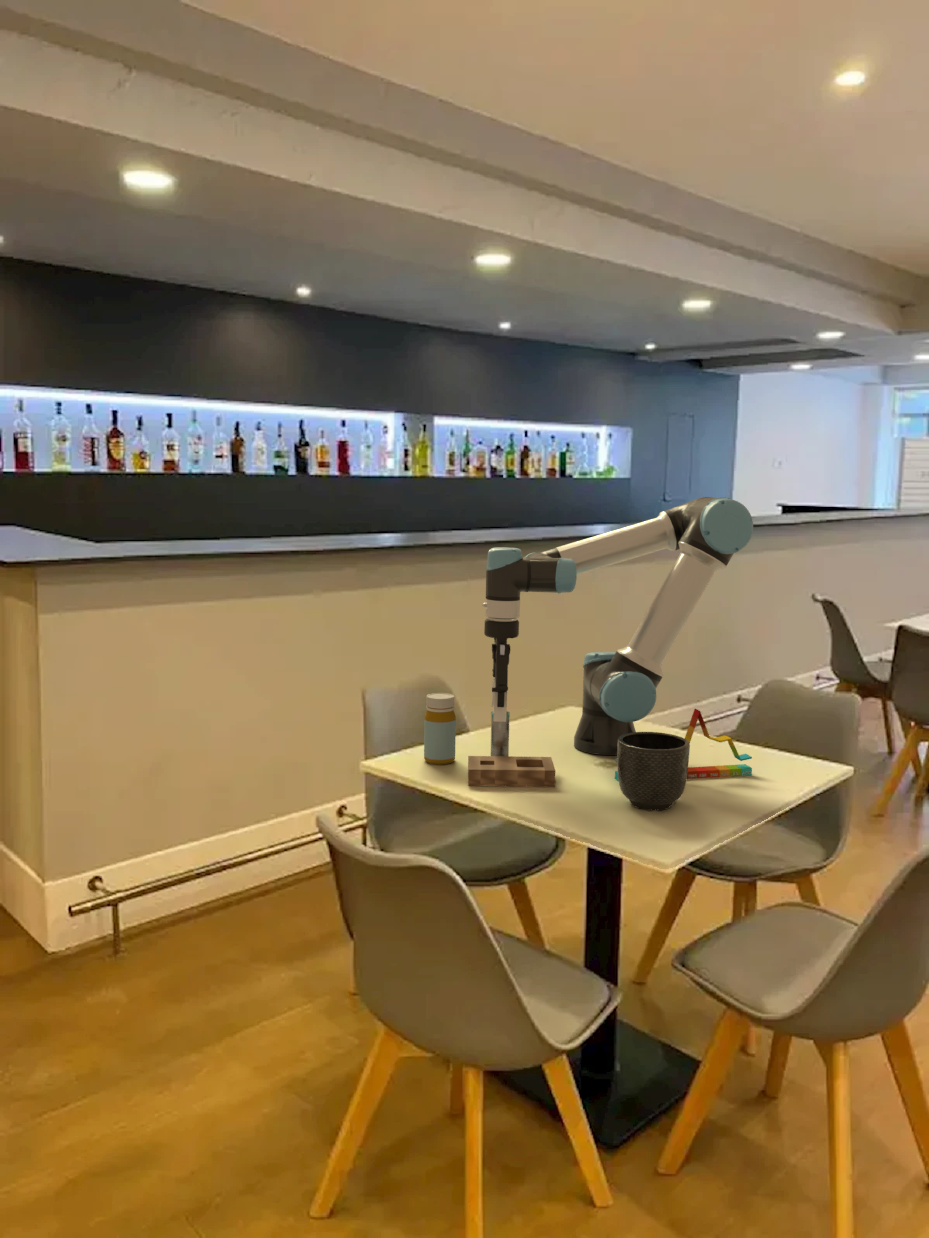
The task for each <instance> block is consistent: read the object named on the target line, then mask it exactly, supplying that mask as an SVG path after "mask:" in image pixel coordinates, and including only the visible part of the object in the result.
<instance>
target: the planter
mask: <svg viewBox="0 0 929 1238" xmlns="http://www.w3.org/2000/svg"><path fill="white" fill-rule="evenodd" d="M690 743H691V742H690ZM690 743H689V742H688V741H687V740H686V739H685V737H682V736H679V735H676V734H671V733H666V732H657V731H636V732H633V733H627V734H624V735H621V736H620V737H619V738H618V741H617V755H616V759H617V760H616V762H617V764H616V765H617V771H618V779H619V781H618V784H619V788H620V791H621V793H622V794H623V796H624V797H625V798H627V800H629V803H630V805H632V806H633V807H635V808H638V809H639V810H645V811H663V810H665V811H666V810H667V809H669V808H671V807H672V806H673V804H674V803H675V802H677V801H678V800H680V798H681V797H682V795H683V794H684V791H685V789H686V784H687V780H688V779H687V772H688V767H689V761H690V751H691V745H690Z"/></svg>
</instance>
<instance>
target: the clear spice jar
mask: <svg viewBox="0 0 929 1238" xmlns="http://www.w3.org/2000/svg"><path fill="white" fill-rule="evenodd" d="M493 719H494V710H492V711H491V712H490V721H491V722H490V756H509V754H510V752H509V749H510V747H509V746H510V744H509V743H510V711H508V710H507V713H506V722H495V721H493Z"/></svg>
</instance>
